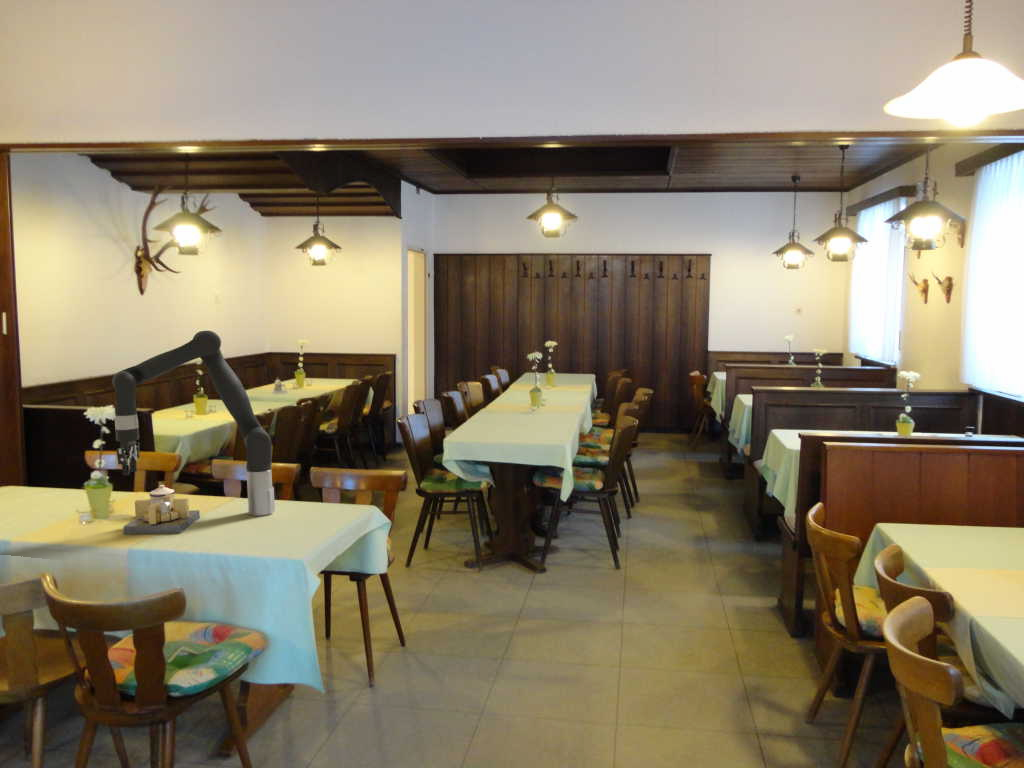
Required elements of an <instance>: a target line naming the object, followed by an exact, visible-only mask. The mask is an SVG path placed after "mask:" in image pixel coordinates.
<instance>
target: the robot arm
mask: <svg viewBox="0 0 1024 768" xmlns="http://www.w3.org/2000/svg"><path fill="white" fill-rule="evenodd" d="M221 345H222V339H221V337H220V336H219V334H217V332H214V331H212V330H201V331H198V332H196V333H195V334H194V336H193V337H192V339H191V340H190V341H189V340H188V342H186V343H184V344H182V345H181V346H179V347H176V348H173V349H171V350H168V351H165V352H163V353H160V354H157V355H155V356H152V357H150V358H148V359H146V360H144V361H142V362H140V363H138V364H136V365H133V366H130V367H127V368H125V369H122V370H121V371H118V372H116V373H115V374H114V375H113V376H112V380H111V384H112V386H113V387H114V396H115V400H114V413H115V414H114V416H115V417H114V427H115V428H114V429H115V430H114V431H115V441H116V442H120V447H119V448H116V450H115V451H116V457H117V464H118V465H120V466H121V469H122V476H129V475H130V472H131V473H136V472H137V471H138V466H137V462H138V459H140V451H141V450H140V442H139V441H138V440H139V439H140V431H139V429H140V427H139V419H138V413H137V412H138V411H137V410H138V409H137V402H136V399H137V398H136V397H137V385H140V384H141V383H143V382H148V381H151V380H152V381H153V379H156V378H158V377H159V376H163V375H164V374H166V373H168V372H171V371H173V370H174V369H177V368H178V367H180V366H182V365H184V364H186V363H188V362H189V363H190V362H192V361H194V360H197V359H201V361H202V363H203V365H204V366H205V367H206V369H207V371H208V374H209V376H210V379H211V381H212V383H213V385H214V387H215V390H216V391H217V393H218V395H219V397H220V399H221V401H222V403H223V405H224V406H225V409H227V411H228V413H229V414H230V416H231V417H232V418H233V420H234V421H235V423H236V425H237V427H238V429H239V431H240V434H241V437H242V440H243V443H244V445H245V446H246V464H245V465H246V484H247V487H246V489H247V504H248V515H250V516H253V517H255V516H256V517H258V516H259V517H260V516H261V517H262V516H267V515H268V516H269V515H272V514H273V513H274V512H275V511H276V507H275V491H274V490H275V487H274V486H273V479H272V478H273V475H272V474H273V473H272V463H273V460H272V459H273V453H272V452H273V450H272V448H273V447H272V438H271V436H270V434H269V433H268V432H267V431H266V430H265V429H264V428H263V427H262V425H261V423H260V422H259V420H258V418H257V417H256V416H255V414H254V410H253V408H252V405H251V400H250V398H249V396H248V394H247V391H246V389H245V387H244V386H243V384H242V381H241V380H240V379H239V377H238V376H237V375H236V373H235V371H233V369H232V368H231V366H230V365H229V364H228V362H227V361H226V359H225V358H224V355H223V353H222V351H221Z"/></svg>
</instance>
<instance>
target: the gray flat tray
mask: <svg viewBox="0 0 1024 768" xmlns="http://www.w3.org/2000/svg"><path fill="white" fill-rule="evenodd" d="M154 503H160V509H161V514H162V513H168V512H171V501H169V500H162V501H156V502H154ZM200 513H201V512H200V509H197V510H196V509H195V510H193V509H192V510H189V516H188V517H181V518H177V519H174V520H170V521H163V522H158V523H157V524H149V522H147V521H144V520H143V518H139V519H136V518H134V519H133V520H131V521H130V522H128V523H127V524H124V526H123V535H125V536H127V535H131V536H132V535H158V534H159V535H163V534H166V535H167V534H168V535H169V534H171V535H172V534H181V533H183V532H184V531H186V530H187V529H188V528H189V527H191V526H192V525H193V524H195V522H197V521H198V520H199V519H201V514H200Z"/></svg>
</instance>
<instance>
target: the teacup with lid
mask: <svg viewBox="0 0 1024 768" xmlns="http://www.w3.org/2000/svg"><path fill="white" fill-rule="evenodd" d="M167 494H174V495H175V490H174V489H172V488H169V487H166V486H165V485H164V484H159V486H158V487H157V488H155V489H154V490H151V491H150V492H149V494H148V495H149V497H150V498H149V499H151V504H153V503H154V502H156V501H162V500H163V497H164V496H165V495H167Z"/></svg>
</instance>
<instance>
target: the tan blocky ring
mask: <svg viewBox="0 0 1024 768" xmlns="http://www.w3.org/2000/svg"><path fill="white" fill-rule="evenodd" d="M175 497H176V495H175V493H174V494H167V495H165V496H164V497H163V500H169V501H171V512H168V513H162V514H161V509H160V503H153V504H151V499H150V498H149V499H136V500H135V501H134V510H135V511H134V512H135V519H139V518H143V520H144V521H147V522H149V524H157V523H158V522H163V521H170V520H174V519H177V518H181V517H188V516H189V511H190V506H189V504H190V503H189V498H175Z"/></svg>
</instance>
